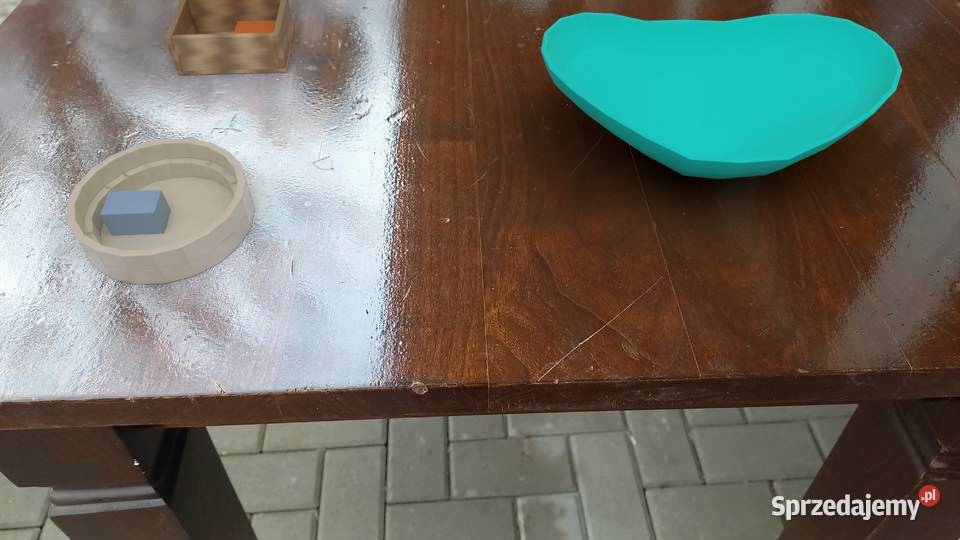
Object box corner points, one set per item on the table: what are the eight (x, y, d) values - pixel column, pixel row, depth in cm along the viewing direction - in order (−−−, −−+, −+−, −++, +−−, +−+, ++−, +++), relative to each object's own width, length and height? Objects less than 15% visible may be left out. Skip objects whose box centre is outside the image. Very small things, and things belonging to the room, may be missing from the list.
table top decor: (540, 223, 77) (552, 127, 67) (524, 78, 95) (532, -15, 85) (890, 221, 78) (953, 127, 68) (809, 79, 96) (850, -13, 86)
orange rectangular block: (239, 55, 96) (233, 34, 94) (242, 41, 99) (237, 21, 96) (279, 54, 97) (274, 33, 94) (282, 40, 99) (277, 20, 96)
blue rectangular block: (111, 235, 74) (99, 214, 72) (120, 212, 76) (108, 191, 74) (164, 233, 74) (154, 212, 72) (171, 210, 77) (161, 189, 74)
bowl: (64, 292, 70) (41, 259, 66) (112, 174, 81) (94, 141, 77) (242, 284, 71) (229, 251, 67) (264, 169, 82) (254, 135, 78)
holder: (178, 75, 94) (164, 38, 90) (193, 33, 101) (181, -4, 97) (286, 72, 95) (278, 35, 91) (294, 30, 102) (287, -6, 97)
